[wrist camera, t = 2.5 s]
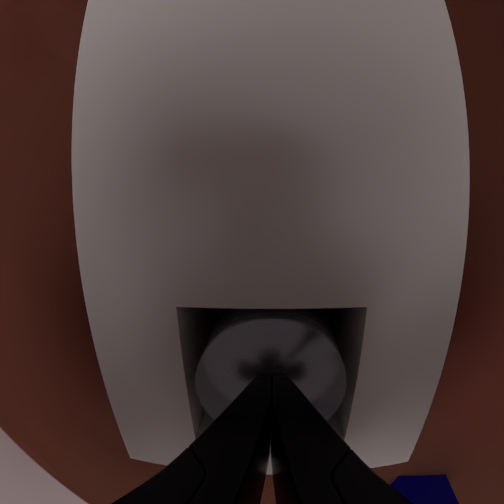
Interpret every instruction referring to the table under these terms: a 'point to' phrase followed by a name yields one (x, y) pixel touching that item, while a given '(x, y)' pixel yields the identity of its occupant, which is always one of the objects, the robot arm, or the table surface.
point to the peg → (271, 356)
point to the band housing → (270, 199)
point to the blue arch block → (425, 489)
